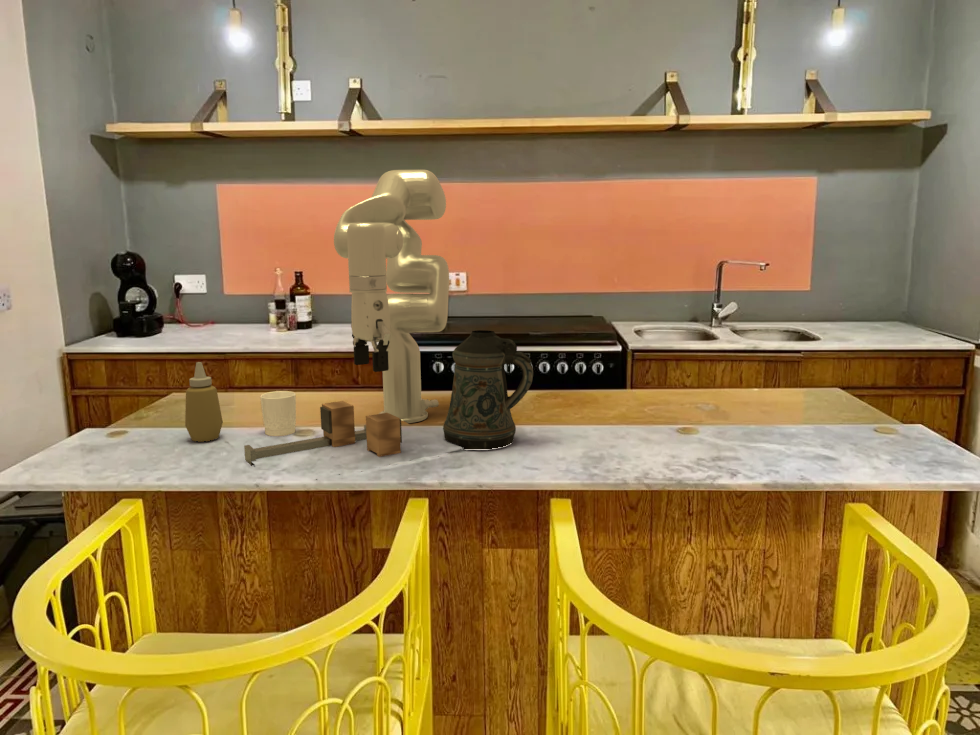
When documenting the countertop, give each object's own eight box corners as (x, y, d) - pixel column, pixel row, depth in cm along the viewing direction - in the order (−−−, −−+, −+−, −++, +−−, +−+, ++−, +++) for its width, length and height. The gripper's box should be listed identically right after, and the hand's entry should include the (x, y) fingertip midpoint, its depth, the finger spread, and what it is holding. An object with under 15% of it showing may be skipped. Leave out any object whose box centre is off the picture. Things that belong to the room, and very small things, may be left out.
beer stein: (437, 434, 168) (434, 328, 163) (516, 427, 172) (516, 325, 168) (451, 454, 152) (448, 338, 147) (537, 447, 157) (538, 334, 152)
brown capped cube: (391, 450, 155) (389, 412, 154) (403, 456, 151) (402, 417, 149) (367, 454, 152) (365, 416, 151) (379, 461, 147) (377, 421, 146)
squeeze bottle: (231, 436, 167) (225, 360, 164) (204, 445, 160) (198, 366, 157) (206, 432, 170) (199, 358, 167) (178, 441, 163) (171, 364, 160)
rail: (368, 438, 164) (368, 424, 164) (376, 442, 161) (376, 429, 160) (245, 460, 149) (244, 445, 148) (251, 465, 145) (250, 450, 145)
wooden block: (344, 437, 162) (343, 400, 160) (355, 443, 157) (353, 405, 156) (321, 441, 159) (319, 404, 157) (331, 447, 154) (329, 409, 152)
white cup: (288, 441, 162) (285, 399, 160) (256, 440, 164) (253, 397, 162) (303, 432, 170) (301, 391, 168) (273, 431, 171) (270, 390, 170)
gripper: (403, 286, 140) (405, 372, 143) (368, 282, 154) (371, 360, 157) (367, 287, 136) (371, 376, 139) (334, 283, 150) (338, 363, 153)
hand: (371, 367), depth 148 cm, fingers open, 9 cm apart
